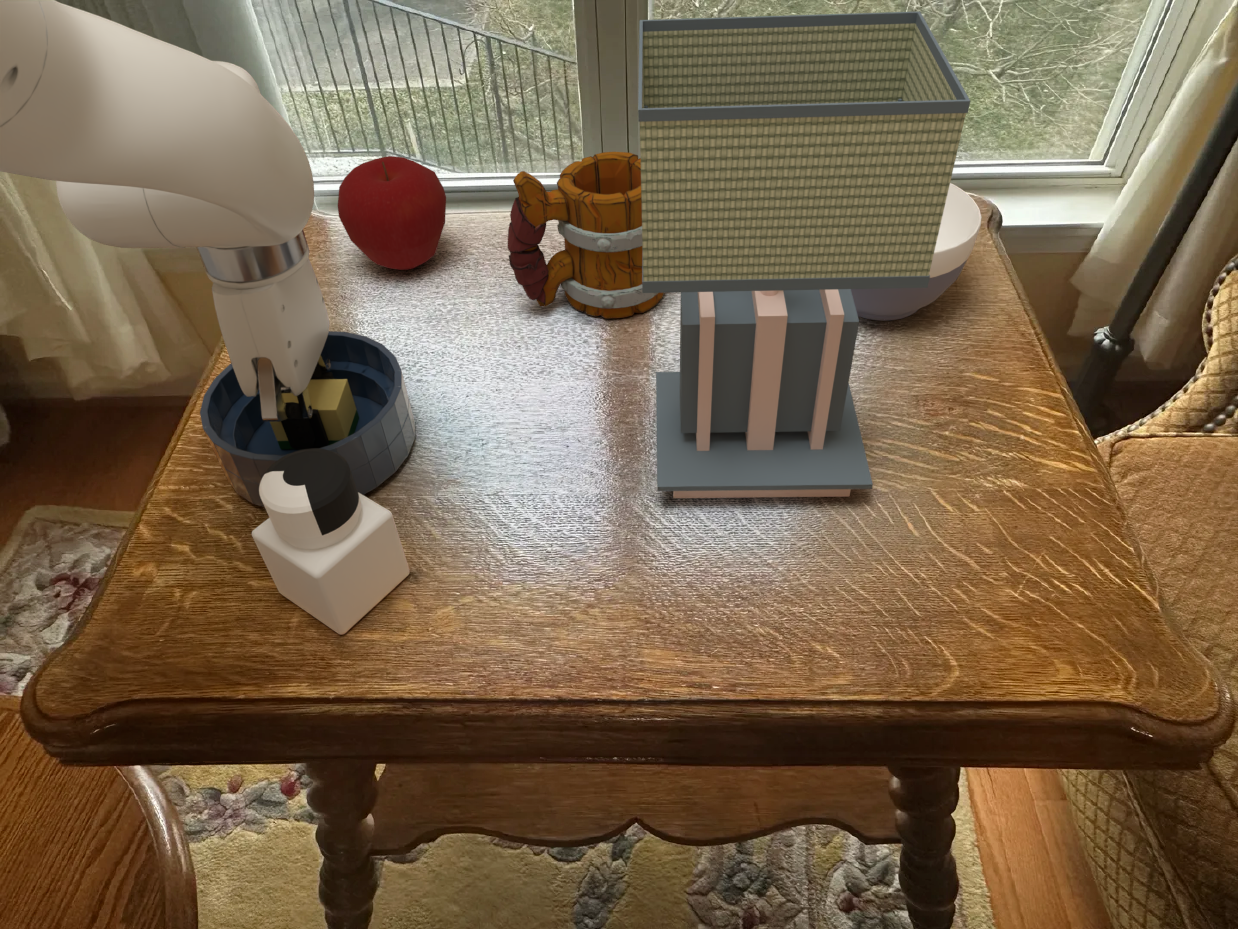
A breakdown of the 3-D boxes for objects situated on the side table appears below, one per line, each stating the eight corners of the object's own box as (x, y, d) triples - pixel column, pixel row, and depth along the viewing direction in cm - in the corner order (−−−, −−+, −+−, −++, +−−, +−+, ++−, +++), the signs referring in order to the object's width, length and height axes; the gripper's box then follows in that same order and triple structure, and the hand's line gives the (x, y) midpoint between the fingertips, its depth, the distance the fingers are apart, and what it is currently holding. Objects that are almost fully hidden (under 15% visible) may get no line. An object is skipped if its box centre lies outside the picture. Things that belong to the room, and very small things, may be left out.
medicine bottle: (348, 533, 75) (307, 422, 66) (412, 573, 72) (378, 461, 63) (277, 593, 71) (224, 483, 62) (342, 638, 68) (295, 528, 59)
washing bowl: (313, 546, 74) (289, 490, 69) (188, 465, 81) (159, 408, 76) (454, 430, 83) (442, 372, 78) (330, 365, 90) (312, 310, 85)
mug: (687, 303, 95) (689, 165, 84) (533, 346, 91) (516, 206, 80) (644, 251, 102) (641, 117, 92) (500, 289, 98) (479, 153, 88)
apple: (342, 288, 99) (312, 187, 91) (371, 234, 107) (346, 136, 98) (443, 291, 98) (422, 189, 90) (466, 236, 106) (449, 137, 97)
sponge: (280, 449, 81) (264, 410, 78) (293, 418, 84) (278, 379, 81) (349, 449, 81) (336, 409, 77) (359, 417, 83) (347, 378, 80)
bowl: (790, 251, 101) (799, 168, 94) (941, 250, 100) (961, 166, 93) (805, 342, 90) (816, 256, 83) (975, 342, 89) (1000, 254, 82)
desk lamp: (850, 390, 85) (918, 9, 62) (878, 506, 75) (971, 103, 52) (647, 393, 85) (639, 18, 62) (647, 508, 75) (638, 112, 52)
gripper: (237, 187, 75) (300, 367, 88) (159, 311, 63) (246, 498, 76) (330, 185, 75) (380, 366, 87) (269, 310, 63) (337, 497, 76)
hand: (317, 425), depth 82 cm, fingers closed on sponge, 4 cm apart
